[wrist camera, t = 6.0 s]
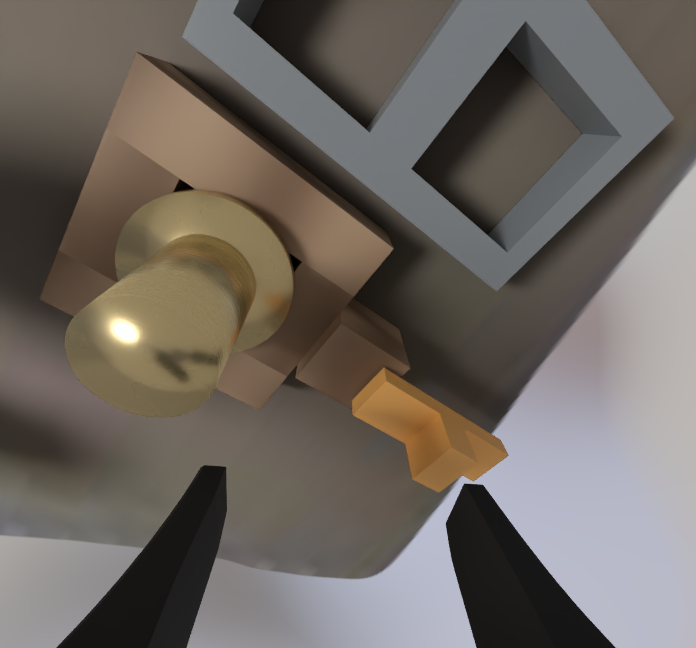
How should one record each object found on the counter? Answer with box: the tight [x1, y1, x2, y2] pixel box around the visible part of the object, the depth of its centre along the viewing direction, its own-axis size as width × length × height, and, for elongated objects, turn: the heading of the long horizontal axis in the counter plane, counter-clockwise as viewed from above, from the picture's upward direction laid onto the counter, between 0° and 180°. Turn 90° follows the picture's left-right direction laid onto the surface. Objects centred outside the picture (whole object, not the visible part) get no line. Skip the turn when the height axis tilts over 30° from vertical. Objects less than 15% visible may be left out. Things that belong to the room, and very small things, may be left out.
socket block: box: [39, 52, 410, 410], centre depth 17 cm, size 15×11×4 cm
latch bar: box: [352, 368, 508, 493], centre depth 17 cm, size 8×2×3 cm, turn 53°
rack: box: [182, 0, 674, 291], centre depth 14 cm, size 15×8×2 cm, turn 53°
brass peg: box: [65, 189, 295, 418], centre depth 14 cm, size 7×7×9 cm
